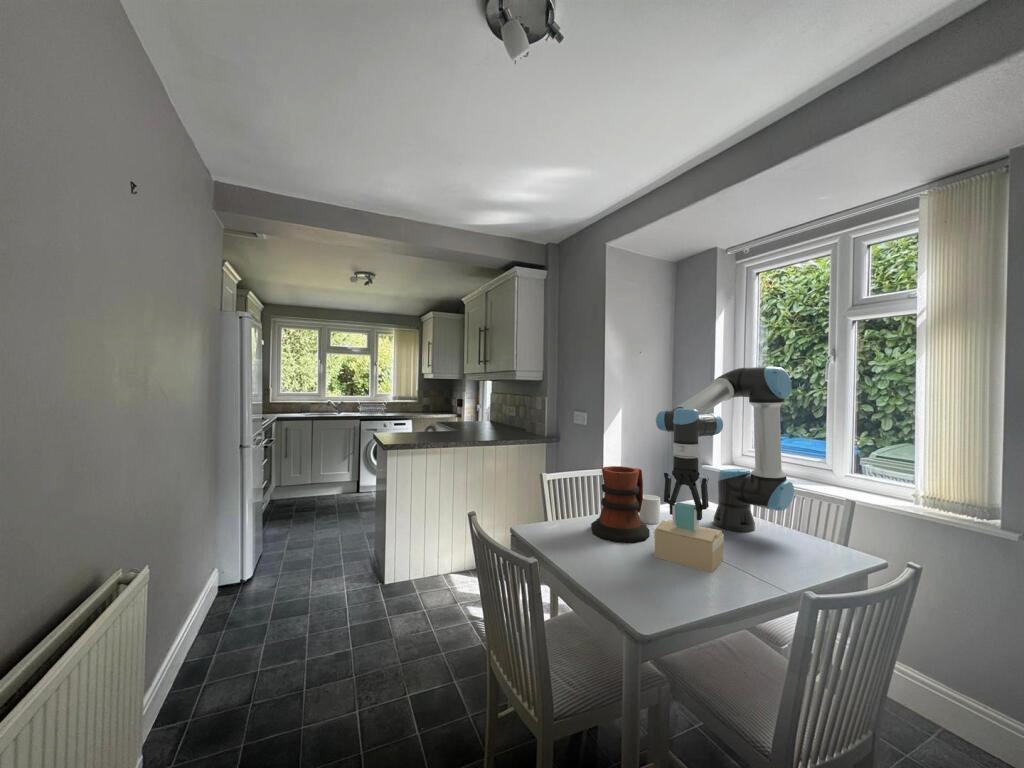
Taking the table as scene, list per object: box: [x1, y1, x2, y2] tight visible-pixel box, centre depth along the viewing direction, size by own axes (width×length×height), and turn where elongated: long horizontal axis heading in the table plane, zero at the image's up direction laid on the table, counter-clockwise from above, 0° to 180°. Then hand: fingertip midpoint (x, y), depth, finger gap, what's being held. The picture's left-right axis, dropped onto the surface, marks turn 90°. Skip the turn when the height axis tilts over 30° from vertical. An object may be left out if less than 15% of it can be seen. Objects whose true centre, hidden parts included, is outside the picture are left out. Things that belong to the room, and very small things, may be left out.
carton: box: [653, 519, 725, 574], centre depth 140 cm, size 12×18×10 cm, turn 50°
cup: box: [638, 494, 661, 525], centre depth 180 cm, size 8×12×10 cm
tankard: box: [590, 465, 651, 544], centre depth 165 cm, size 22×25×25 cm
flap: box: [655, 501, 716, 542], centre depth 137 cm, size 6×17×9 cm, turn 50°
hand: (685, 527), depth 137 cm, fingers open, 6 cm apart
